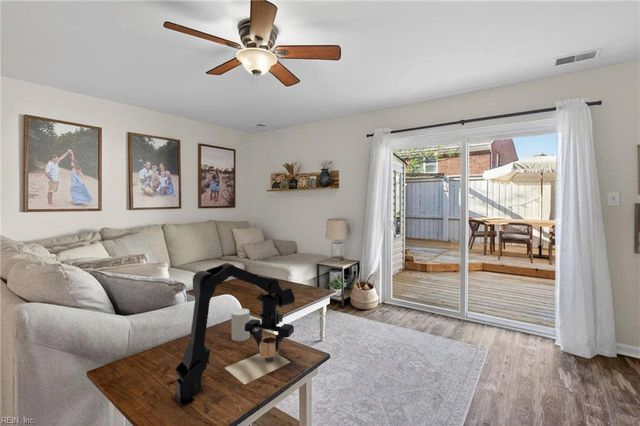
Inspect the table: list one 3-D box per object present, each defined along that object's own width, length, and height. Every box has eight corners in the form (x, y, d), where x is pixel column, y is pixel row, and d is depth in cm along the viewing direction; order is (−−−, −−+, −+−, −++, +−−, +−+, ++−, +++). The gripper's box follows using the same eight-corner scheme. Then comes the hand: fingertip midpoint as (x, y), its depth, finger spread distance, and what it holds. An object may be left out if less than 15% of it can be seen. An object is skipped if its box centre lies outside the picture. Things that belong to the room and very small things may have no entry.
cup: (227, 338, 136) (227, 312, 136) (240, 332, 143) (240, 307, 143) (241, 342, 132) (241, 316, 132) (253, 335, 139) (253, 310, 139)
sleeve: (273, 358, 111) (273, 345, 111) (256, 355, 113) (256, 342, 113) (280, 350, 117) (280, 337, 117) (265, 347, 119) (265, 335, 119)
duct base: (244, 388, 100) (244, 369, 99) (224, 371, 109) (224, 354, 109) (290, 365, 114) (290, 349, 114) (269, 352, 124) (269, 337, 123)
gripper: (299, 305, 119) (299, 343, 120) (258, 300, 125) (258, 337, 125) (288, 315, 109) (288, 357, 109) (243, 309, 114) (243, 349, 115)
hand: (269, 349), depth 115 cm, fingers closed on sleeve, 7 cm apart
